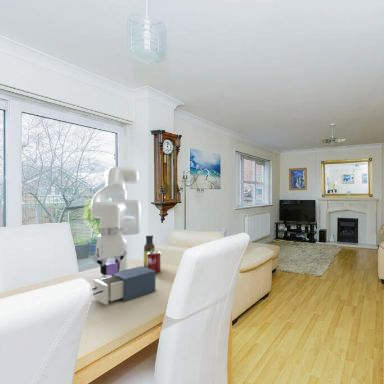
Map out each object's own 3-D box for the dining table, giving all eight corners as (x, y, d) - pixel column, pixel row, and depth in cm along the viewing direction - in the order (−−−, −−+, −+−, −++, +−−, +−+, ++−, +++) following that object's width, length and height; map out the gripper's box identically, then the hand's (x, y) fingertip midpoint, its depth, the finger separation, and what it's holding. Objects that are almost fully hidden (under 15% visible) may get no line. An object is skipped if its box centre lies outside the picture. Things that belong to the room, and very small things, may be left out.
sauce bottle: (153, 268, 157) (154, 236, 157) (142, 269, 156) (142, 236, 156) (155, 265, 164) (155, 234, 163) (144, 266, 162) (144, 234, 162)
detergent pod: (102, 273, 113) (102, 263, 113) (113, 271, 116) (113, 261, 116) (107, 275, 110) (107, 265, 110) (117, 273, 113) (118, 262, 113)
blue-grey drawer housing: (124, 301, 112) (124, 279, 112) (111, 293, 120) (111, 273, 120) (155, 290, 123) (155, 270, 123) (141, 284, 131) (141, 265, 131)
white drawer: (89, 309, 102) (89, 290, 102) (78, 301, 109) (78, 283, 109) (137, 294, 117) (137, 277, 117) (125, 288, 124) (125, 272, 124)
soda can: (152, 276, 144) (152, 254, 144) (144, 273, 148) (144, 252, 148) (163, 272, 150) (163, 252, 150) (155, 270, 154) (155, 250, 154)
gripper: (125, 228, 122) (125, 266, 122) (85, 232, 109) (84, 276, 109) (133, 229, 117) (133, 270, 117) (92, 234, 104) (92, 280, 104)
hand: (110, 272), depth 113 cm, fingers closed on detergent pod, 4 cm apart
